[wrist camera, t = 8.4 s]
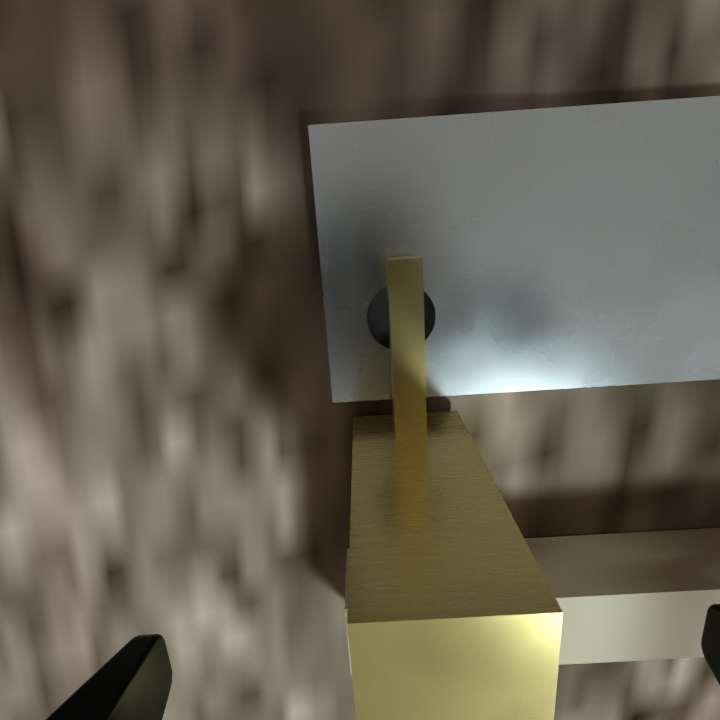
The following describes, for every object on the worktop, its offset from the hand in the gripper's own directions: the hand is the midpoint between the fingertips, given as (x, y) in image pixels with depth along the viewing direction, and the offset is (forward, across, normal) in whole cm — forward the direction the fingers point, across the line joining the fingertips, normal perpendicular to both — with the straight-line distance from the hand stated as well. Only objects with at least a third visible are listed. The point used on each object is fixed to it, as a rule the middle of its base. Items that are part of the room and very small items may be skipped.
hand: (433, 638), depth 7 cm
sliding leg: (+6, 0, 0) cm, 6 cm away
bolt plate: (+6, -8, -5) cm, 12 cm away
